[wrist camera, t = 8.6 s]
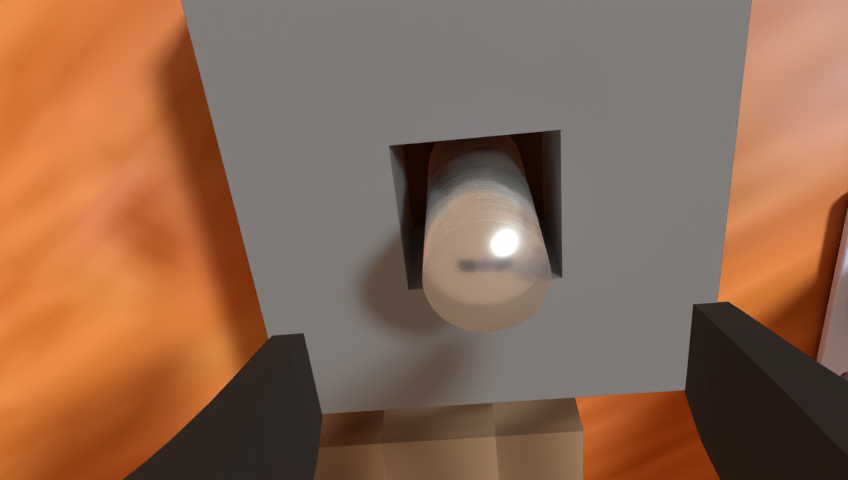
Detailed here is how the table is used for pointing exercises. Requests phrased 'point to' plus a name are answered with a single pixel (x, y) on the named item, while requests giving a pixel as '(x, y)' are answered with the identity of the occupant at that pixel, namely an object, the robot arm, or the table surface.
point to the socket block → (455, 443)
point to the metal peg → (482, 236)
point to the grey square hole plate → (470, 118)
